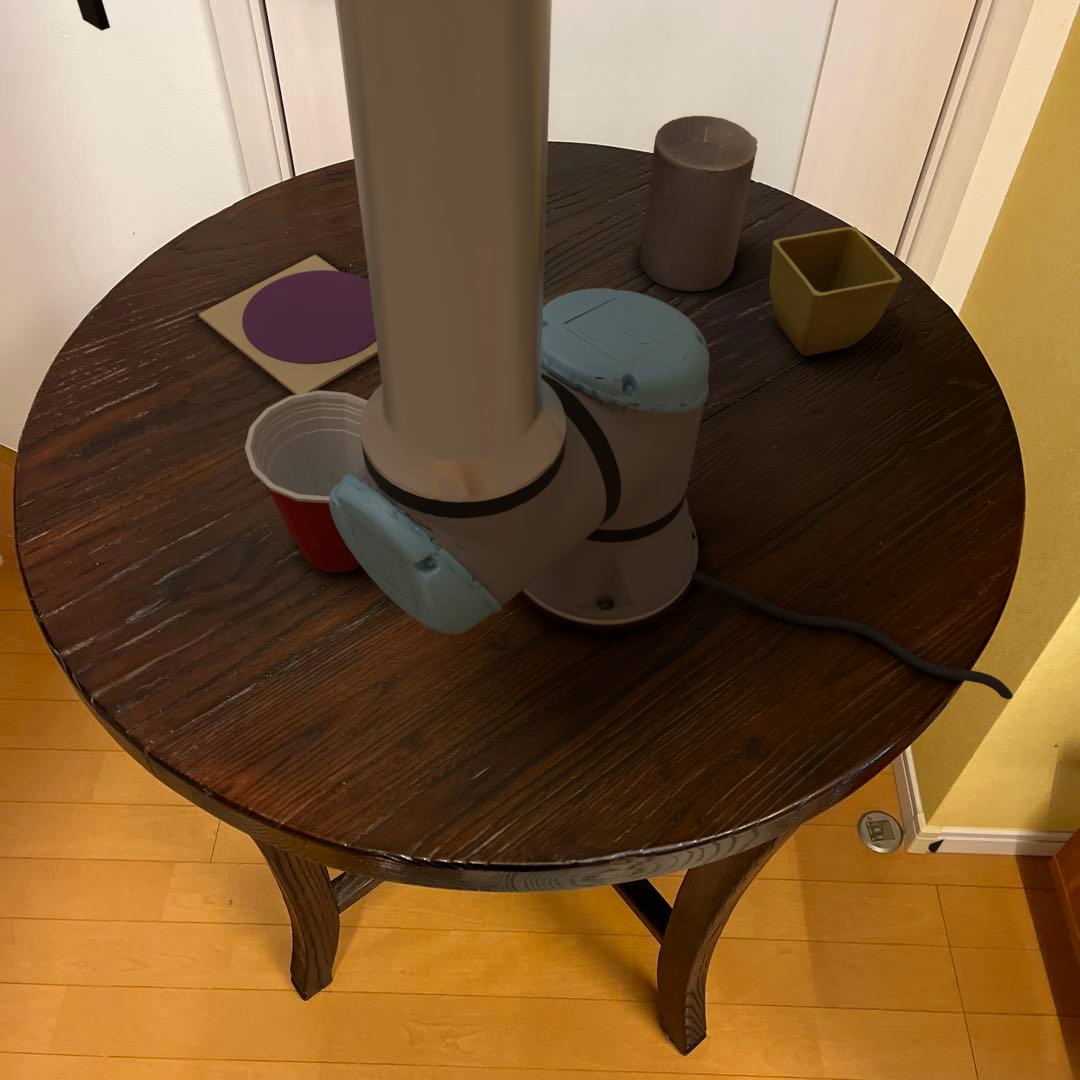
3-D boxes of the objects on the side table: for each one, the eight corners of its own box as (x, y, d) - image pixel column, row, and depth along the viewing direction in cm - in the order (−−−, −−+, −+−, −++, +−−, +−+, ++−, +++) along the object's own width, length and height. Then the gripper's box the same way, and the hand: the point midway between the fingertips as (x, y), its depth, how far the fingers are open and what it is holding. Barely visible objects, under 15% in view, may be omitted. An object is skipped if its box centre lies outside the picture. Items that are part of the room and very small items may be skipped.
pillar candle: (627, 243, 112) (641, 107, 100) (714, 231, 114) (737, 96, 102) (658, 299, 106) (676, 162, 95) (749, 285, 108) (777, 149, 96)
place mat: (426, 325, 103) (426, 320, 102) (300, 399, 96) (299, 394, 95) (323, 253, 110) (322, 248, 109) (199, 317, 103) (197, 312, 102)
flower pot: (833, 301, 107) (855, 223, 100) (877, 356, 101) (904, 278, 94) (753, 317, 105) (771, 239, 98) (794, 374, 99) (816, 296, 92)
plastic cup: (387, 612, 81) (372, 507, 72) (252, 587, 82) (220, 481, 73) (426, 507, 88) (416, 399, 78) (300, 486, 89) (276, 377, 80)
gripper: (41, -352, 70) (134, -14, 86) (-376, -280, 58) (-178, 95, 74) (102, -332, 66) (187, 15, 83) (-327, -252, 55) (-131, 134, 71)
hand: (14, 53), depth 79 cm, fingers open, 13 cm apart
